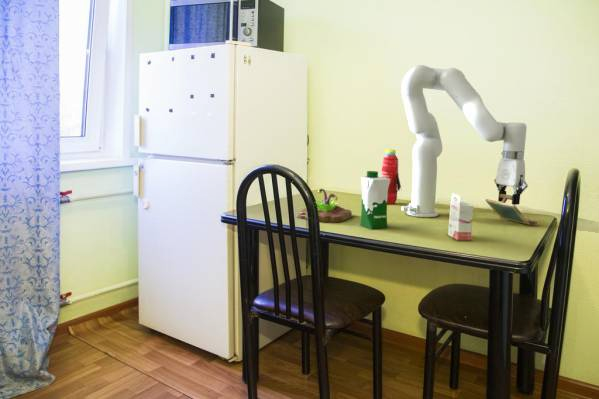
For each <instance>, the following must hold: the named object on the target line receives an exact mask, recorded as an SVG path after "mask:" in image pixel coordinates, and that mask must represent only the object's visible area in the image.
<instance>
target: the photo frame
mask: <svg viewBox="0 0 599 399" xmlns="http://www.w3.org/2000/svg"><path fill="white" fill-rule="evenodd" d="M512 196H513V195H511V194H507V193H506V194H500V198H504V199H503V200H502V201H501V202H499V201H498V200H493V199H488V198H485V202H486V204H488V205H489V207H490V208H491V209H492V210H493V211H494V212H495V214H497V216H498V217H499V218H500V219H502V218H504V219H503V220H506V219H508V220H507V221H510V220H512V221H511V222H514V221H516V222H515V223H518V222H520V223H519V224H522V223H524V224H523V225H526V224H528V225H527V226H530V225H529V224H530V223H529V221H528V220H527V219H528V218H527V217H525V215H524V214H523V213H522V212H521V211H520V210H519V208H518V207H517V206H516V205H513V204H512V203H508V202H507V201H508V200H510V201H512ZM526 218H527V219H526Z"/></svg>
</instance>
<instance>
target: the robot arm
mask: <svg viewBox="0 0 599 399" xmlns="http://www.w3.org/2000/svg"><path fill="white" fill-rule="evenodd" d="M400 88H401V89H400V90H401V97H402V102H403V105H404V111H405V115H406V119H407V124H408V128H409V130H410V132H411V133H412V134H414V135H416V141H415V143H414V145H413V147H412V179H411V180H412V181H411V202H409V203H408V204H407V205H402V206H401V207H400V210H401V211H402V212H406V214H407V215H409V216H411V217H416V218H437V217H438V216H439V211H436V195H437V181H438V180H437V179H438V178H437V177H438V176H437V175H438V158H439V157H440V155H441V154H442V152H443V142H442V137H441V133H440V129H439V126H438V122H437V119H436V117H435V116H434V114H432V112H431V113H430V112H429V110H428V106H427V101H426V97H425V94H424V89H427V90H429V89H430V90H434V91H435V90H436V91H445V92H446V93H447V95H448V96H449V97H450V98H451V99H452V101H453V102H454V103H455V105H456V106H457V107H458V108H459V109H460V111H461V113H462V114H463V115H464V116H465V118H466V119H467V120H468V121H469V123H470V125H471V126H472V127H473V128H474V130H475V131H476V132H477V133H478V134H479V136H481V138H482V139H483V140H484V141H486V142H489V143H494V142H499V141H503V142H502V151H501V158H500V159H499V162H498V164H497V169H496V170H497V171H496V176H495V177H496V178H494V179H493V180H494V181H493V182H494V184H495V186H496V188H497V191H498V198H497V201H498V202H501V201H502V200H503V199H504V198H500V194H506V195H507V187H512V190H513V194H512V195H511V196H512V200H511V204H513V205H515V206H516V205H520V201H521V195H522V194H523V192H525V190H527V188H528V187H529V185H528V183H527V181H526V161H525V159H524V158H525V150H526V149H525V148H526V140H527V139H526V138H527V129H528V127H527V124H526V123H524V122H502V121H498V120H496V118H495V117H494V116H493V115H492V113H491V112H490V111H489V110H488V108H487V107H486V105H485V104H484V102H483V98H482V97H481V95H480V93H479V92H478V91H477V90H476V89H475V88H474V87H473V85H472V84H471V83H470V81H468V79H467V78H466V75H465V73H464V72H463V71H461V70H460V69H458V68H455V67H450V68H437V67H436V68H435V67H430V66H427V65H424V64H419V65H415V66H413V67H412V68H410V69H408V71H407V72H406V74H405V75H404V76H403V79H402V81H401V87H400Z"/></svg>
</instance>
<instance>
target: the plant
mask: <svg viewBox="0 0 599 399" xmlns="http://www.w3.org/2000/svg"><path fill="white" fill-rule="evenodd" d="M317 192H318V194H321V193H322V192H323V195H324V196H323V200H322V201H319V200H316V201H315V203H316V204H317V207H318V212H319V221H318V222H321V223H328V222H329V223H330V222H331V223H341V222H344V221H345V220H347V219H351V218H352V216H353V214H352V213H353V212H352V210H350V209H347V208H344V207H341V206H340V205H339V202H336V203H335V201H338V196H337V195H336V194H334V193H330V194H329V195H327V192H326V190H325V189H324V188H319V189H318V190H317ZM331 198H333V199H334V200H331ZM306 208H307V207H306ZM306 208H302V209H301V210H299V211H298V213H297V218H299V219H303V218H304V220H308V219H307V217H305V216H300V215H306ZM298 214H299V215H298Z"/></svg>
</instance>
